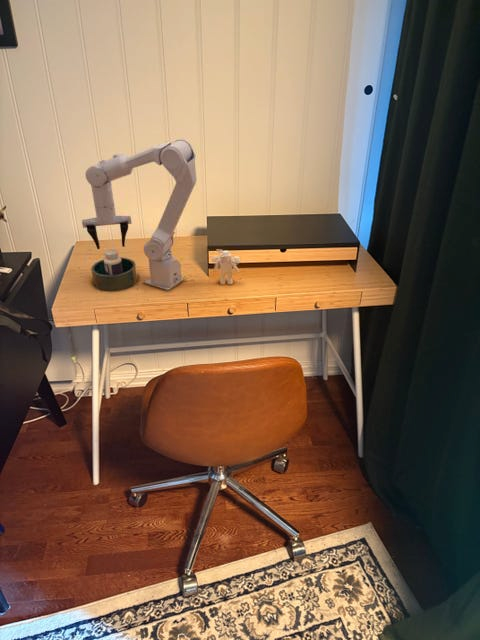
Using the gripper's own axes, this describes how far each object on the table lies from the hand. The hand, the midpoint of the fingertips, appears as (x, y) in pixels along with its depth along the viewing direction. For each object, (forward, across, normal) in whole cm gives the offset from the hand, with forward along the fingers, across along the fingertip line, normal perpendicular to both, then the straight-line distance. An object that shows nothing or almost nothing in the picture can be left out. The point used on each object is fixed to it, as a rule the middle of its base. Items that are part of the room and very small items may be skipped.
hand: (111, 246), depth 150 cm
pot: (+10, 0, +3) cm, 11 cm away
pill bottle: (+10, 0, +3) cm, 11 cm away
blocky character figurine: (+11, -34, +13) cm, 38 cm away
